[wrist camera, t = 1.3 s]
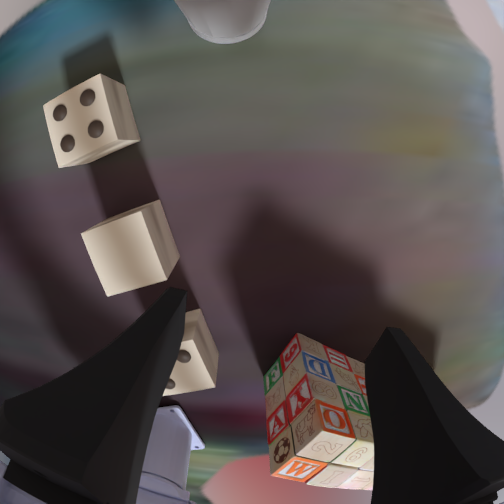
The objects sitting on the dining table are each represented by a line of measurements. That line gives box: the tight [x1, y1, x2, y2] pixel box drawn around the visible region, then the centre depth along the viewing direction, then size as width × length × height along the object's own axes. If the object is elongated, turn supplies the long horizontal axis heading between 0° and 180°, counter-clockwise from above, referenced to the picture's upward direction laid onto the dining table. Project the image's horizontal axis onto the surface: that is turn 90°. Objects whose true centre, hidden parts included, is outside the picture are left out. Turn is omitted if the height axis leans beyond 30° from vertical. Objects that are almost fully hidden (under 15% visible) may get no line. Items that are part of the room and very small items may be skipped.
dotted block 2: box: [163, 309, 219, 396], centre depth 26 cm, size 5×5×5 cm
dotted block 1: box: [43, 74, 141, 168], centre depth 20 cm, size 5×5×5 cm
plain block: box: [81, 199, 180, 297], centre depth 23 cm, size 5×5×5 cm
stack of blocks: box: [264, 333, 374, 490], centre depth 25 cm, size 21×6×12 cm, turn 60°
